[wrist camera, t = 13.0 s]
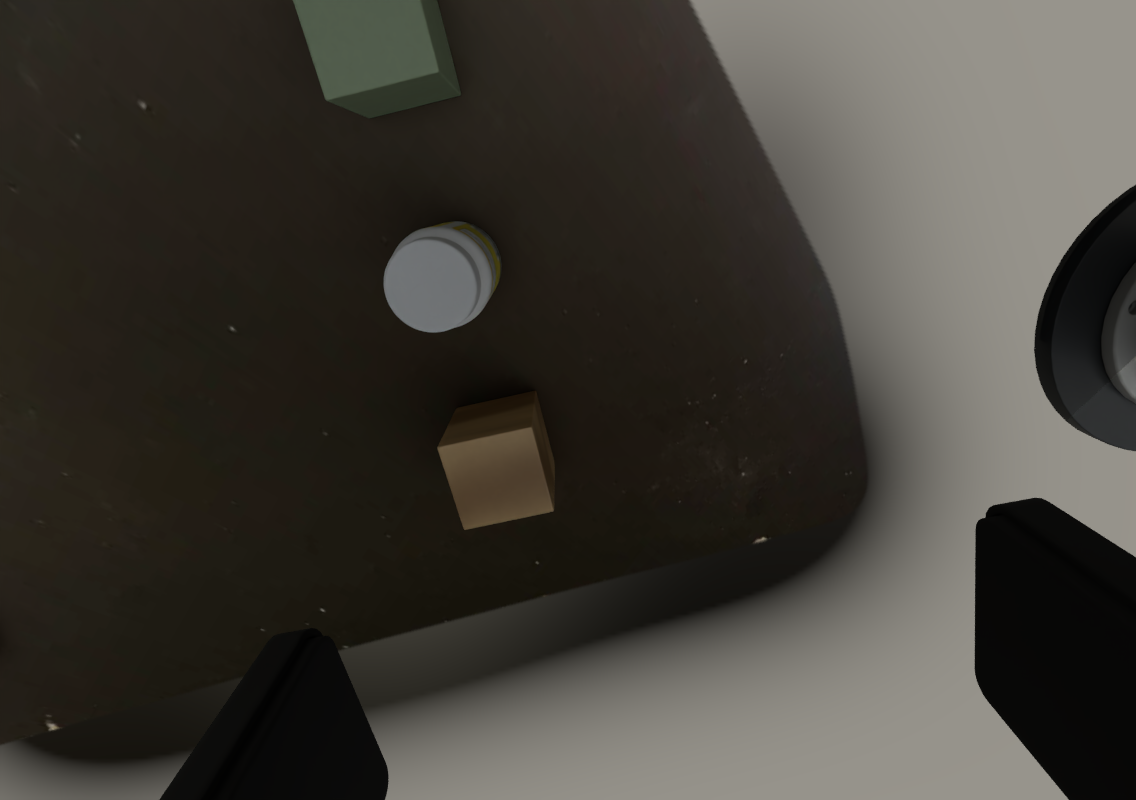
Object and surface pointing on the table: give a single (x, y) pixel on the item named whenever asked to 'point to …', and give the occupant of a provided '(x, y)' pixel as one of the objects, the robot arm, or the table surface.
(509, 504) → the oak block
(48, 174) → the table surface
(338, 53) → the sage block
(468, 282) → the supplement bottle
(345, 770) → the robot arm
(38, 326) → the table surface
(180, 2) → the table surface
